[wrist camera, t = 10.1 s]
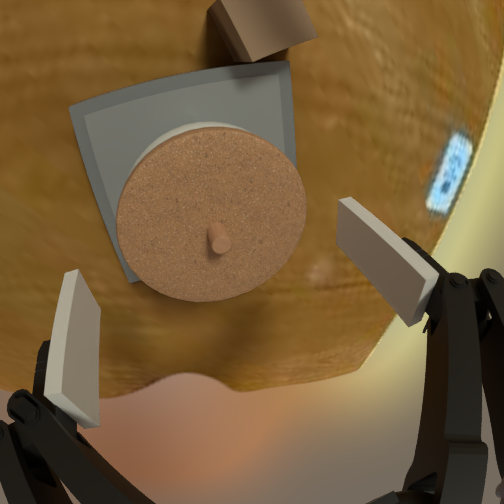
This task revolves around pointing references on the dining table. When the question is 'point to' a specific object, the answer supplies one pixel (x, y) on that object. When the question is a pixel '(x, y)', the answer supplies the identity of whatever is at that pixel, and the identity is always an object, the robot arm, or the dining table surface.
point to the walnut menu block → (261, 26)
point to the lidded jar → (209, 212)
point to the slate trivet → (177, 121)
